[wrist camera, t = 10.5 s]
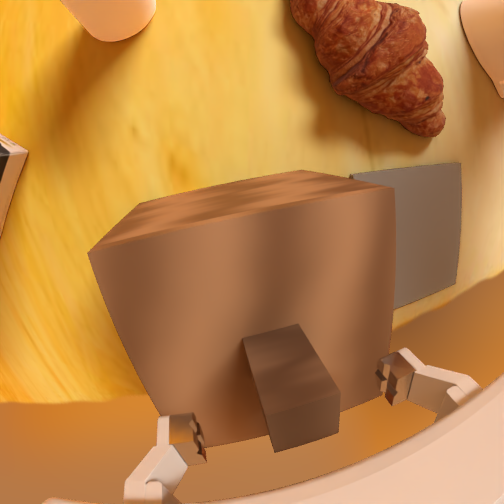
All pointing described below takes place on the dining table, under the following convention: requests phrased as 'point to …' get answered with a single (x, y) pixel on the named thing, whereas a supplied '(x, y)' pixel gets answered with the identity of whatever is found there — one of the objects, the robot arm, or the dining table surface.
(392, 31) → the pastry
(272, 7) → the dining table surface
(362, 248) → the wooden block with knob
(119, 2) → the can
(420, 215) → the mat
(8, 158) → the tea box
